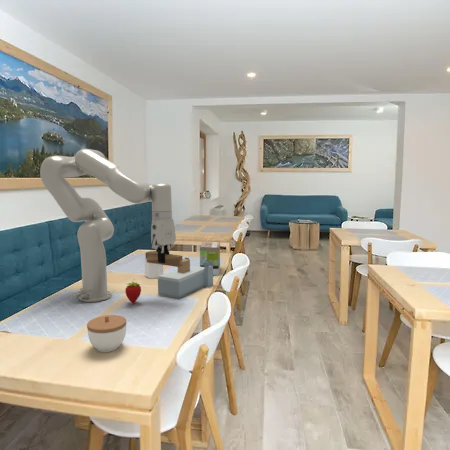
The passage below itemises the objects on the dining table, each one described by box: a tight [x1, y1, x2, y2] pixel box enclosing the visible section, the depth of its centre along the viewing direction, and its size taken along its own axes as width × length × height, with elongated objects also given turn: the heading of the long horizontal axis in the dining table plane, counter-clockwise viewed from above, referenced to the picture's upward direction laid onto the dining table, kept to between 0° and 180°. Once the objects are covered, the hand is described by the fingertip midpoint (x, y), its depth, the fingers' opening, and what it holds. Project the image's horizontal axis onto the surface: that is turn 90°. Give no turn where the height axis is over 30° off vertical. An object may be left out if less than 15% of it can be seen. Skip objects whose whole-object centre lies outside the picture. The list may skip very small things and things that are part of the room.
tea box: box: [199, 241, 221, 276], centre depth 187 cm, size 15×10×15 cm
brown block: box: [145, 251, 183, 268], centre depth 141 cm, size 2×16×4 cm, turn 61°
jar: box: [144, 250, 164, 279], centre depth 179 cm, size 9×8×12 cm
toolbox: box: [157, 257, 214, 300], centre depth 157 cm, size 23×15×11 cm, turn 151°
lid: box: [157, 258, 204, 282], centre depth 156 cm, size 22×10×6 cm, turn 151°
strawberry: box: [125, 278, 142, 305], centre depth 139 cm, size 6×8×10 cm
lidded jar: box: [86, 314, 127, 353], centre depth 103 cm, size 11×11×9 cm
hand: (163, 261), depth 141 cm, fingers closed on brown block, 2 cm apart
